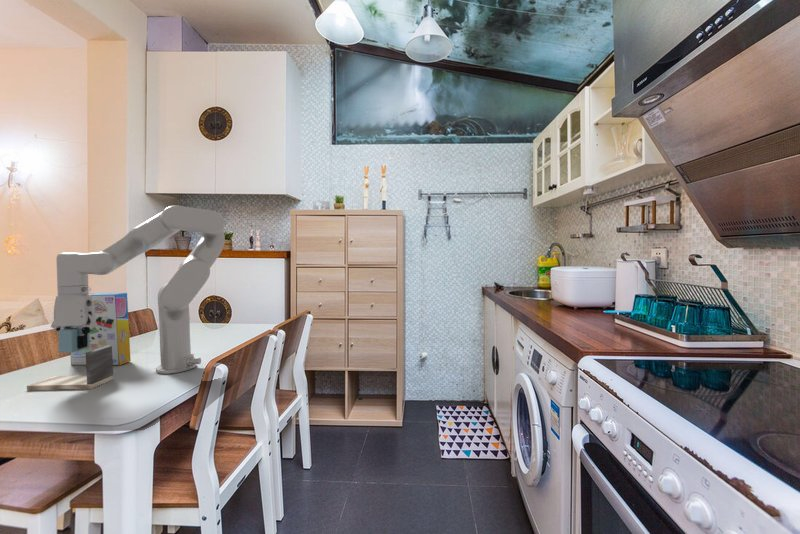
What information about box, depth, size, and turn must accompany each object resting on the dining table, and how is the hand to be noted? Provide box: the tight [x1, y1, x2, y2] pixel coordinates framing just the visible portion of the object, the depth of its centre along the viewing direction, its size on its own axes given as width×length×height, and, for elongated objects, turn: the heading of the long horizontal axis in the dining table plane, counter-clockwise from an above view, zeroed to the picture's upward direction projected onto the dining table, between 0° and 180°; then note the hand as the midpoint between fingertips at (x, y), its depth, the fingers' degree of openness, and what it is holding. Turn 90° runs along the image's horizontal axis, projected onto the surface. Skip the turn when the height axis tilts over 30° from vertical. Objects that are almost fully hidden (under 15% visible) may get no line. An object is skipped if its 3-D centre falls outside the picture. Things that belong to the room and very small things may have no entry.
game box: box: [70, 292, 132, 366], centre depth 145 cm, size 21×6×27 cm, turn 84°
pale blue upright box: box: [57, 327, 90, 354], centre depth 121 cm, size 4×7×7 cm, turn 1°
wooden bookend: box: [26, 346, 114, 391], centre depth 122 cm, size 20×9×12 cm, turn 91°
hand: (75, 347), depth 121 cm, fingers closed on pale blue upright box, 4 cm apart
